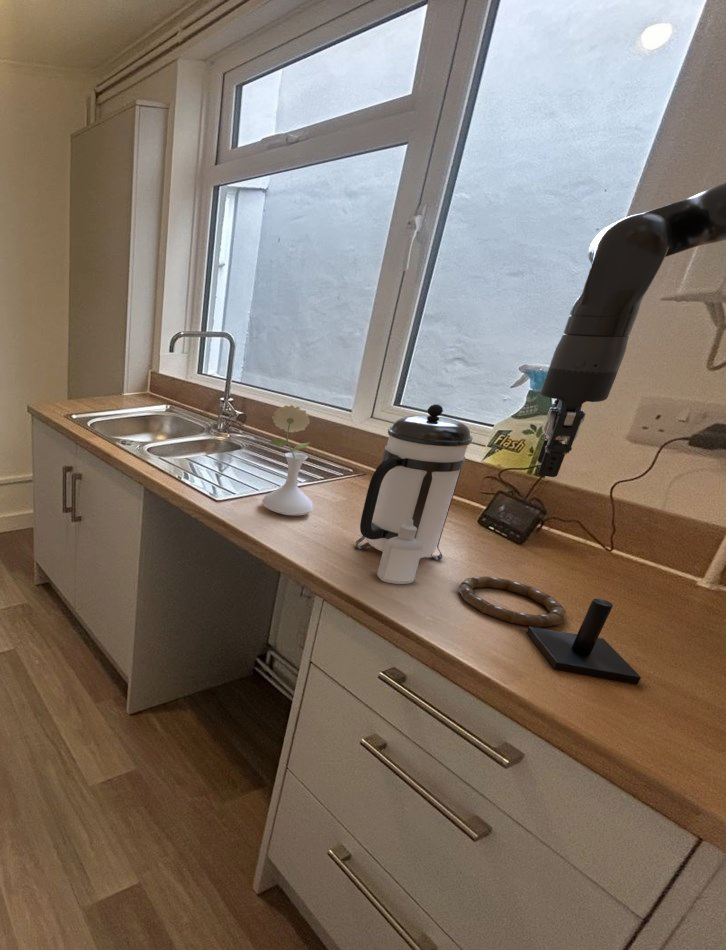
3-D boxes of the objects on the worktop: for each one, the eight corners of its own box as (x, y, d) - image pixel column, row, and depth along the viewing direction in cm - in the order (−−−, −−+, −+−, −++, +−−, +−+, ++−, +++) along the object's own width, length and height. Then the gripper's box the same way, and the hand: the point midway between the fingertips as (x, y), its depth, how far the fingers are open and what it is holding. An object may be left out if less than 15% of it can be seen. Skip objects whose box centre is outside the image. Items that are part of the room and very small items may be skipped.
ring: (539, 591, 92) (543, 582, 91) (580, 636, 80) (584, 626, 79) (447, 578, 96) (450, 569, 96) (473, 618, 84) (476, 609, 84)
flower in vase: (321, 512, 125) (342, 407, 116) (296, 524, 119) (316, 415, 109) (271, 496, 135) (287, 399, 125) (245, 507, 129) (260, 405, 119)
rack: (600, 645, 78) (625, 591, 74) (637, 684, 70) (668, 627, 67) (526, 632, 81) (546, 580, 77) (553, 669, 73) (578, 613, 70)
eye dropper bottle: (411, 589, 93) (429, 527, 88) (375, 580, 96) (390, 520, 91) (413, 579, 96) (430, 519, 92) (378, 570, 99) (393, 512, 95)
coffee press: (347, 531, 115) (378, 394, 104) (434, 544, 109) (478, 400, 97) (350, 565, 101) (386, 411, 89) (450, 584, 94) (503, 419, 83)
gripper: (625, 374, 71) (581, 486, 78) (613, 363, 81) (574, 463, 88) (551, 369, 76) (515, 475, 82) (548, 359, 86) (516, 455, 92)
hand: (546, 469), depth 85 cm, fingers open, 8 cm apart
